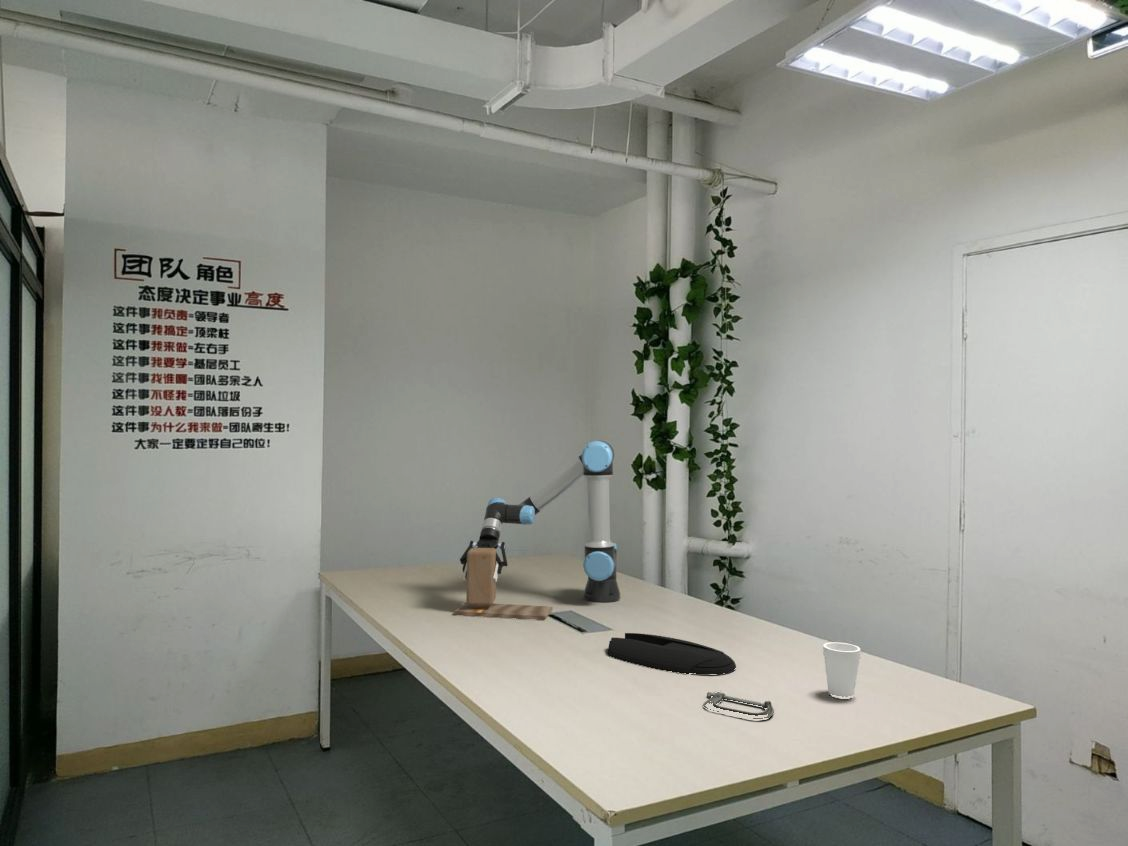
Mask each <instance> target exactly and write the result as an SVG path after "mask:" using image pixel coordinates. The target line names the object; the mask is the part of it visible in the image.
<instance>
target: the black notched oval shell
mask: <svg viewBox="0 0 1128 846" xmlns="http://www.w3.org/2000/svg"><path fill="white" fill-rule="evenodd" d="M607 654H608V657H610V656H611V658H613V657H614V658H613V659H616V658H617V659H616V660H619V659H620V660H619V661H622V660H623V661H622V662H625V661H627V662H626V663H629V662H630V664H633V663H634V665H636V664H639V665H638V666H640V665H643V666H642V667H644V666H646V667H645V668H649V667H650V669H653V668H655V670H658V669H660V670H659V671H663V670H666V671H665V672H668V671H672V672H671V673H674V672H679V673H686V674H689V673H696V674H723V673H728V672H731V671H733V670H734V669H735V668H736V669H737V664H736V662H735V660H734V659H733V658H732V657H731V656H730V655H728V654H726V653H725V652H724V651H722V650H718V649H716V648H714V647H710V646H707V645H703V644H700V643H696V642H692V641H688V640H684V639H679V638H675V637H669V636H663V635H656V634H649V633H640V632H639V633H636V632H625V633H624V637H611V638H610V640H609V643H608V650H607ZM736 669H735V670H736ZM733 672H734V671H733ZM679 673H678V674H679ZM731 673H732V672H731ZM686 674H685V675H686ZM728 674H729V673H728ZM723 675H724V674H723Z"/></svg>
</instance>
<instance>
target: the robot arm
mask: <svg viewBox="0 0 1128 846" xmlns="http://www.w3.org/2000/svg"><path fill="white" fill-rule="evenodd" d="M614 459H615V451H614V449H613V447H612V446H611V444H610V443H608V442H606V441H604V440H595V441H591V442H589V443H587V444H586V445H585V446H584V448H583V450H582V452H581V454H580V455H579V456H578V457H577V461H575V462H574V463H573V464H571V465H570V466H568V467H567V468H565V470H563V471H561V472H560V473H559V474H558V475H556V476H555V477H554V478H552V479H551V480H550V481H549V482H547V483H546V484H544V485H543V486H542V487H541V488H539V489H538V490H536V491H535V492H534V493H533V494H531V495H530V496H529V497H528V498H526V499H525V500H523V501H522V502H521V503H519V504H507V502H506V500H504V499H503V498H500V497H493V498H491V499H489V501H488V503H487V506H486V508H485V513H484V518H483V522H482V526H481V531H480V535H479V539H478V541H477V542H476V541H473V540H470V541H469V545H468V547H467V548H466V550H465V551H464V553H463V554H462V556H461V557H460V558H459V561H460V564H461V565H462V572H463V574H462V575H463V576H462V578H463V581H464V582H467V553H468V551H469V550H470V549H471V548H495V549H496V550H497V549H498V548H499V550H500V551H501V555H502V556H501V557H502V560H501V558H500V556H499V555H498V552H497V551H496V568H495V573H494V577H493V579H494V582H496V583H497V582H498V576H499V575H501V574H502V570H503V567H508V560H507V559H508V558H507V556H506V555H507V554H506V543H505V542H504V541H502V542H501V543H500V542H499V541H500V535H501V533H502V532H501V531H502V526H503V524H514V525H515V524H516V525H523V526H525V525H533V524H534V522H535V518H536V515H537V514H539V513H540V512H542V511H543V510H544V509H545V508H547V507H548V506H550V505H551V504H553V502H554V501H556V500H558V499H559V498H560V497H561V496H563V495H564V494H565V493H567V492H568V491H570V490H571V489H572V488H573V487H575V486H576V485H578V484H579V483H580V482H582V481H583V480H585V479H586V480H587V481H586V482H587V483H586V484H587V488H586V489H587V535H588V536H587V538H588V539H587V540H588V541H587V542H586V543H585V544H584V560H583V563H582V565H583V571H584V573H585V575H587V581H586V584H585V586H584V587H585V588H584V590H583V594H582V595H583V596H582V597H583V599H584V600H586V601H589V602H594V601H595V602H597V603H612V602H613V601H614V602H618V601H620V600H621V592H620V589H619V588H620V587H619V584H618V582H617V581H618V580H617V565H618V563H617V562H618V560H617V556H618V555H617V554H618V546H617V543H615V542H612V540H611V522H610V521H611V519H610V517H611V515H610V514H611V513H610V511H611V510H610V507H611V506H610V479H611V478H612V477H613V475H614V466H613V465H614V462H613V461H614ZM619 599H620V600H619ZM617 600H618V601H617Z"/></svg>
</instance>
